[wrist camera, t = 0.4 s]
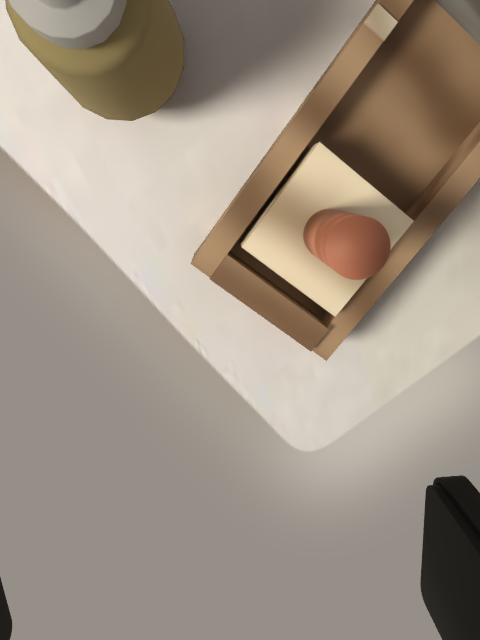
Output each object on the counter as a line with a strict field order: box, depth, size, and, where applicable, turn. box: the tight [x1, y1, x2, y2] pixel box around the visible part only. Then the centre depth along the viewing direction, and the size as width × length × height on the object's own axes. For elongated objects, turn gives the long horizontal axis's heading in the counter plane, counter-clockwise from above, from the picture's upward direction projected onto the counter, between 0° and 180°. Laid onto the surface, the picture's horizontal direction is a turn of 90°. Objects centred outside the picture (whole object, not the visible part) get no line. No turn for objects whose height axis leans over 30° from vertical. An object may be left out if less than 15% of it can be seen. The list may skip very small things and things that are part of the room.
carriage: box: [240, 142, 414, 317], centre depth 28 cm, size 8×8×10 cm
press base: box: [191, 0, 480, 361], centre depth 31 cm, size 26×12×6 cm, turn 143°
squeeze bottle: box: [5, 0, 184, 121], centre depth 23 cm, size 8×8×18 cm
